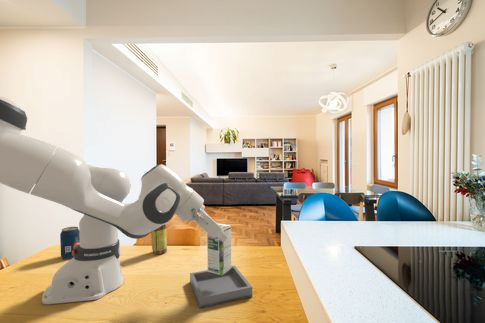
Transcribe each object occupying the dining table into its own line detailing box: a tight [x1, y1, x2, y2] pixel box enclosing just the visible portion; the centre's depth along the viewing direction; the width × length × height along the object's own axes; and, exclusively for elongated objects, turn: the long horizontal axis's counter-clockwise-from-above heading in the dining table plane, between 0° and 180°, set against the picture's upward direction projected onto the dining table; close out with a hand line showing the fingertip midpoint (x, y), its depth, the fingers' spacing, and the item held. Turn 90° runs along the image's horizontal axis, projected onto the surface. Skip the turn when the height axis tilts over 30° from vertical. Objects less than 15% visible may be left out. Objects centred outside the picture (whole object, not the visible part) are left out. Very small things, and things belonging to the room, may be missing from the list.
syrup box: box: [206, 222, 232, 275], centre depth 82 cm, size 6×6×14 cm
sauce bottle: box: [150, 224, 168, 255], centre depth 113 cm, size 7×6×20 cm
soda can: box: [59, 226, 80, 260], centre depth 109 cm, size 7×7×12 cm
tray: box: [189, 265, 253, 309], centre depth 83 cm, size 16×16×3 cm
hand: (220, 234), depth 82 cm, fingers closed on syrup box, 8 cm apart
